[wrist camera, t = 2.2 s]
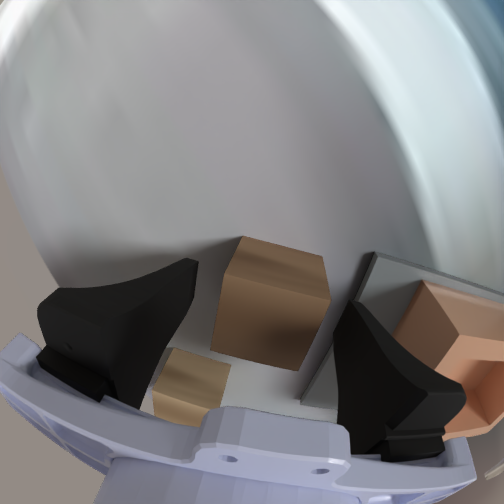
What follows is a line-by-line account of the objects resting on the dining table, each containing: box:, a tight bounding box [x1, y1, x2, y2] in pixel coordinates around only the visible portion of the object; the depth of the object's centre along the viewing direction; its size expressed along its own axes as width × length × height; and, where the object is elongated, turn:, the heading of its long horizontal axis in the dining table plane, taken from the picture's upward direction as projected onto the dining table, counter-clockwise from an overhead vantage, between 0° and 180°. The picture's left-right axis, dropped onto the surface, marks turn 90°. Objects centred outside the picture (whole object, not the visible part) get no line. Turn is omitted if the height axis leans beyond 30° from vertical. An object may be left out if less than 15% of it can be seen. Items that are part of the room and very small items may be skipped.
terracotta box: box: [391, 280, 504, 441], centre depth 12 cm, size 9×13×5 cm
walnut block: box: [210, 236, 331, 371], centre depth 12 cm, size 4×4×4 cm
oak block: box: [152, 348, 231, 427], centre depth 16 cm, size 4×4×4 cm
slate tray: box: [300, 252, 504, 410], centre depth 15 cm, size 12×17×1 cm
